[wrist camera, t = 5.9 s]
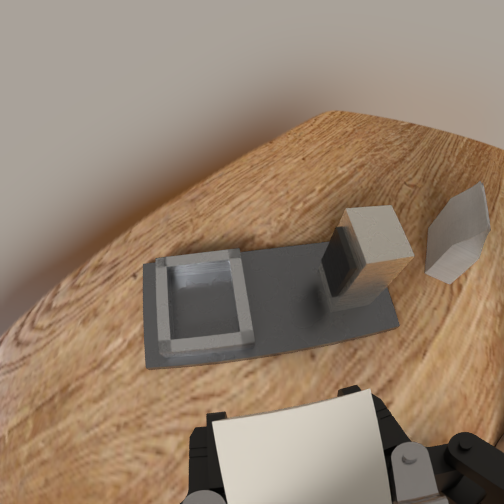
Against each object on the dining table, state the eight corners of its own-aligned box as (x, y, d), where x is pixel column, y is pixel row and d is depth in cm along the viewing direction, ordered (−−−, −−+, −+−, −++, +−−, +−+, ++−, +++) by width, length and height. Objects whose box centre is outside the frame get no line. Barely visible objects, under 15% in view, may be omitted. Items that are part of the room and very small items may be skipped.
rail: (365, 242, 32) (401, 178, 23) (395, 329, 27) (453, 284, 18) (145, 268, 29) (112, 204, 20) (149, 369, 24) (102, 340, 15)
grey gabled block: (424, 273, 30) (474, 220, 21) (428, 228, 33) (468, 173, 25) (449, 284, 29) (502, 236, 21) (451, 239, 33) (493, 188, 24)
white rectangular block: (315, 401, 15) (387, 383, 7) (330, 475, 12) (411, 523, 5) (231, 417, 14) (211, 421, 6) (246, 493, 12) (244, 569, 4)
